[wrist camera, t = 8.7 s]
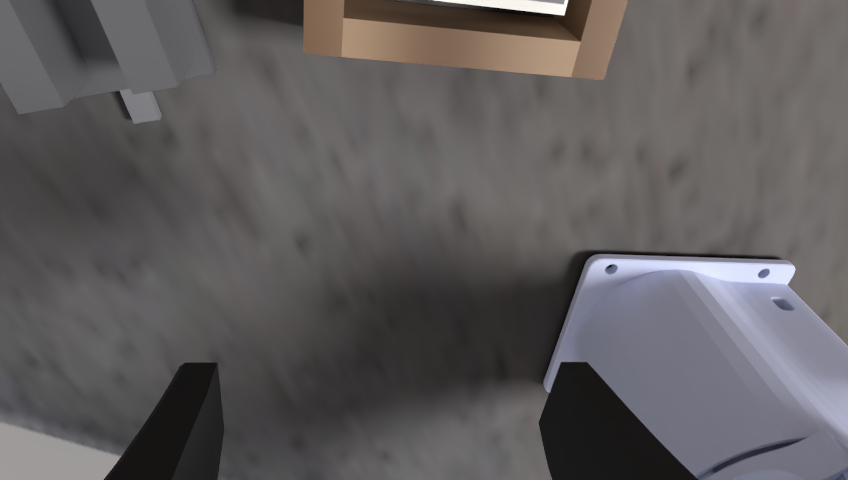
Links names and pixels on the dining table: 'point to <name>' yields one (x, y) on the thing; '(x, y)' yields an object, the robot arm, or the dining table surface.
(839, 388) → the robot arm
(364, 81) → the dining table surface
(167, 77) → the clip
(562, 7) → the white boxy piece
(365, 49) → the frame
